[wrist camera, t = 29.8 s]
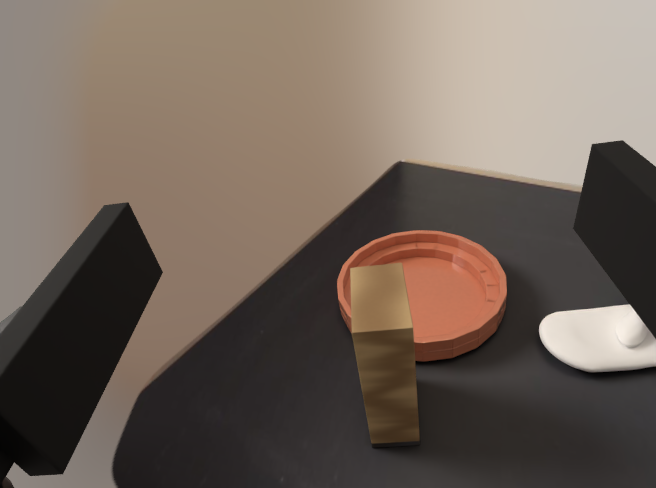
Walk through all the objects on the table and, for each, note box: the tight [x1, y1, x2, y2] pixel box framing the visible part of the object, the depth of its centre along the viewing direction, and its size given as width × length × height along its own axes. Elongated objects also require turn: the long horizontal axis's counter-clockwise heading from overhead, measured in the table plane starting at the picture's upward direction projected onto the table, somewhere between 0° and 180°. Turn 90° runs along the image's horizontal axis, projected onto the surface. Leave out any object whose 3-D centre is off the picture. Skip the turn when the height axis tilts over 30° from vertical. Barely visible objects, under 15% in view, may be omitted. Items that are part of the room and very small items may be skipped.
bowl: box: [337, 230, 507, 362], centre depth 44 cm, size 16×16×3 cm
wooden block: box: [350, 263, 420, 448], centre depth 32 cm, size 4×6×13 cm, turn 178°
